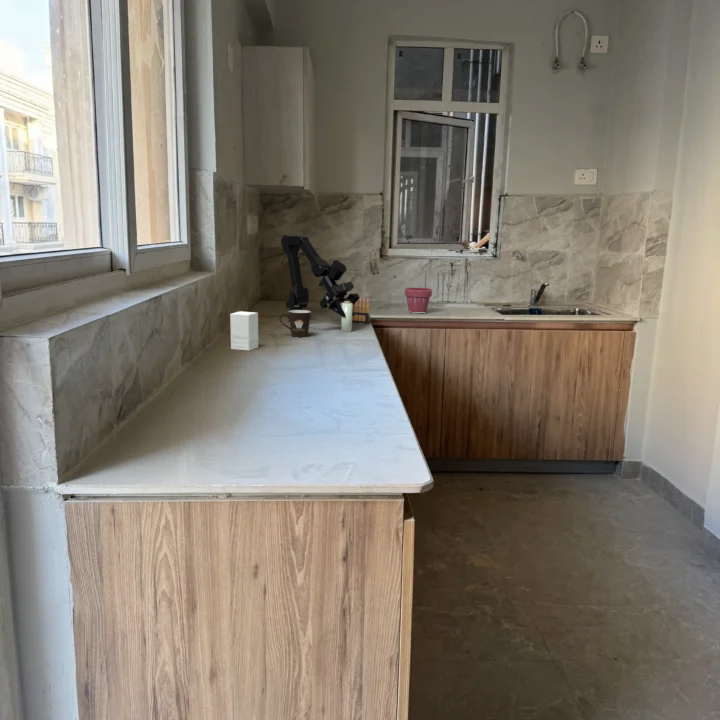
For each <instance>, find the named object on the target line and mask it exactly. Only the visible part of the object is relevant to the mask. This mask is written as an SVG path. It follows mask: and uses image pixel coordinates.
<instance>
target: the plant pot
mask: <svg viewBox="0 0 720 720" xmlns="http://www.w3.org/2000/svg"><path fill="white" fill-rule="evenodd" d="M432 290H433V289H432V288H429V287H405V289H404V296H405V298H406V303H407V304H406V305H407V308H408V312H409V311H411V312H426V313H427V309H428V306H429V302H430V299H431V297H432V296H433V295H432V294H433V293H432V292H433V291H432Z"/></svg>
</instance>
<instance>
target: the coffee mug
mask: <svg viewBox="0 0 720 720" xmlns="http://www.w3.org/2000/svg"><path fill="white" fill-rule="evenodd" d="M311 313H312V312H311V311H310V310H305V309H304V310H291V311H289V310H288V314H287V313H282V314H281V315H279V317H278V318H279V322H280V324H282V325H283V326H284V327H286V328H287V329H289V331H290V333H291V334H290V335H291V338H294V337H298V338H297V339H303V338H302V337H306V338H308V337H307V336H308V335H309V330H310V328H309V324H310V321H311ZM284 316H285V317H287V318H288V321H289V320H290V322H289V325H290V326H288V325H287V324H285V323H284V322H283V321H282V317H284ZM300 337H301V338H300Z"/></svg>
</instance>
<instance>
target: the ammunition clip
mask: <svg viewBox="0 0 720 720" xmlns="http://www.w3.org/2000/svg"><path fill="white" fill-rule="evenodd" d="M359 297H360V296H359ZM353 311H354V316H353V317H352V324H360V323H363V324H364V325H369V324H370V321H371V320H370V299H369V297H367V299H366V298H365V297H363V299H362V297H360V298H359V299H358V301H357V302H356V303H355V304H354V305H353Z"/></svg>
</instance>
